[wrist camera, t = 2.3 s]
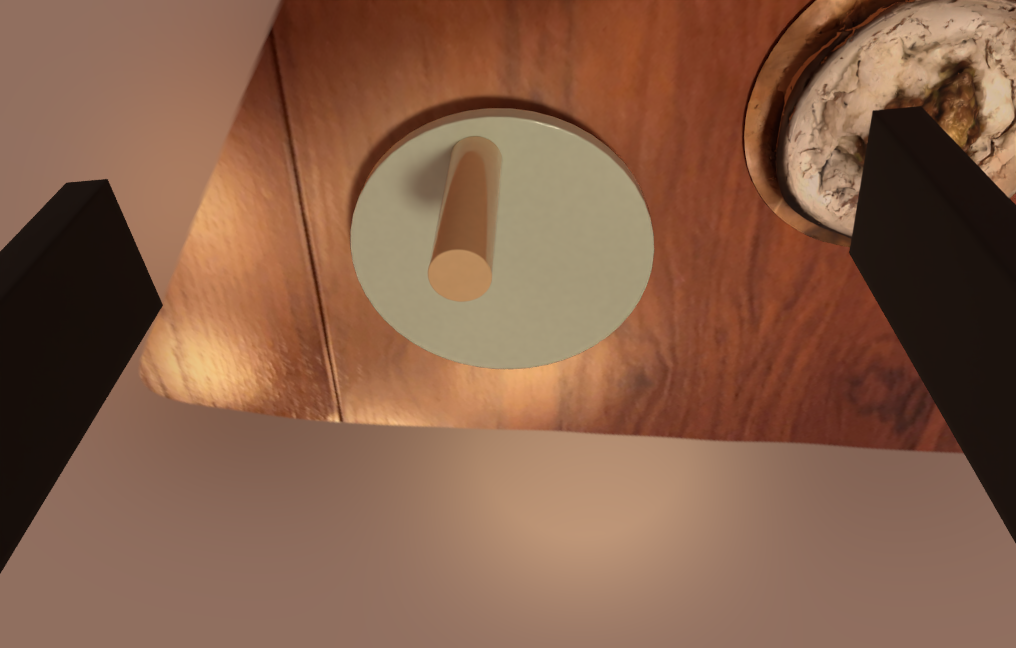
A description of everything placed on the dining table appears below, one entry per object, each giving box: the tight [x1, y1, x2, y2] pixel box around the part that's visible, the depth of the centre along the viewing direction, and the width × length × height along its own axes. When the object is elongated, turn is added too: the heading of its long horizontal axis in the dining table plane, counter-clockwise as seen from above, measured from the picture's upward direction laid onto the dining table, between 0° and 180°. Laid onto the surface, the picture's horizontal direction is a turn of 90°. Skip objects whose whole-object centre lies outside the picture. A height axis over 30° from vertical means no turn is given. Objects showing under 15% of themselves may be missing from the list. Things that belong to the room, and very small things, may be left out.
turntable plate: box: [350, 108, 654, 369], centre depth 38 cm, size 15×15×10 cm
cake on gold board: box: [744, 0, 1016, 247], centre depth 37 cm, size 15×15×4 cm
